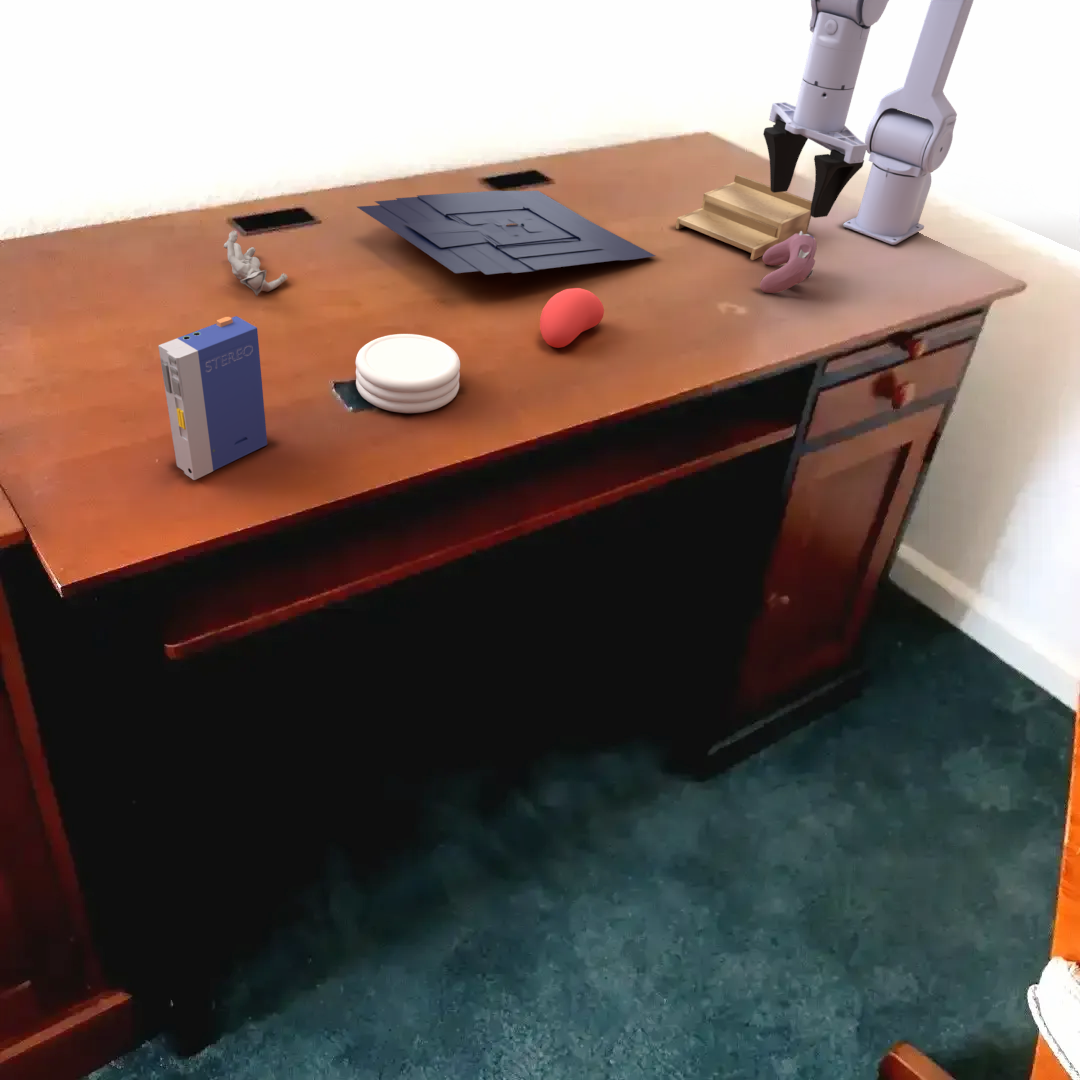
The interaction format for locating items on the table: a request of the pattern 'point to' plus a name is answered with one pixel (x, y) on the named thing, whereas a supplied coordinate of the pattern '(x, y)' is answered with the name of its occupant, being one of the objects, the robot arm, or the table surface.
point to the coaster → (407, 373)
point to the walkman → (214, 395)
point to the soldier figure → (249, 267)
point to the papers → (500, 231)
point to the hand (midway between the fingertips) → (798, 203)
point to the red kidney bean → (569, 316)
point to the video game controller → (789, 262)
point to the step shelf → (749, 215)
